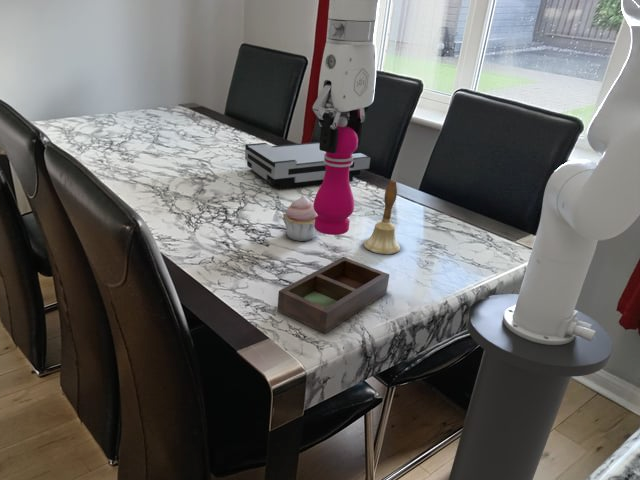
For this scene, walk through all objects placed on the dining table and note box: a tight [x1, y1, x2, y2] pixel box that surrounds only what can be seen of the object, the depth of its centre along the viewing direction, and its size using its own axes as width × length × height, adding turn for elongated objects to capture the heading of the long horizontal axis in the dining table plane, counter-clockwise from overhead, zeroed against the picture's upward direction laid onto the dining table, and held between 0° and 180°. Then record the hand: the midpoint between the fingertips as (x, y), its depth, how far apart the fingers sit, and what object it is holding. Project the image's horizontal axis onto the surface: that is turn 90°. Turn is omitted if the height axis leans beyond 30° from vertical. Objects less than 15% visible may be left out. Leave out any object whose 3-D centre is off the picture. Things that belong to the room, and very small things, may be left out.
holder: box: [277, 256, 390, 335], centre depth 109 cm, size 11×21×4 cm, turn 138°
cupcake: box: [282, 195, 318, 242], centre depth 135 cm, size 9×9×10 cm
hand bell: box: [363, 179, 401, 255], centre depth 130 cm, size 8×8×16 cm
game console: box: [244, 141, 371, 191], centre depth 177 cm, size 21×32×8 cm, turn 114°
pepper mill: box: [313, 116, 358, 236], centre depth 100 cm, size 7×7×20 cm
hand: (339, 146), depth 98 cm, fingers closed on pepper mill, 6 cm apart
